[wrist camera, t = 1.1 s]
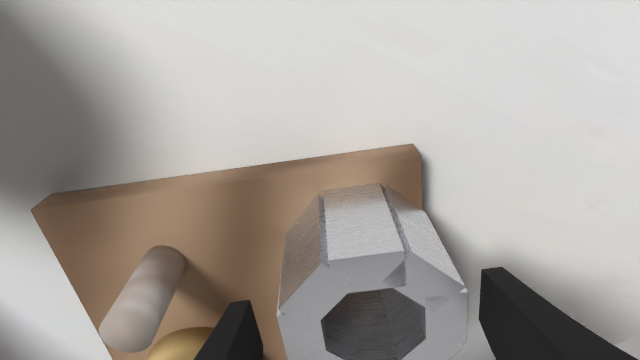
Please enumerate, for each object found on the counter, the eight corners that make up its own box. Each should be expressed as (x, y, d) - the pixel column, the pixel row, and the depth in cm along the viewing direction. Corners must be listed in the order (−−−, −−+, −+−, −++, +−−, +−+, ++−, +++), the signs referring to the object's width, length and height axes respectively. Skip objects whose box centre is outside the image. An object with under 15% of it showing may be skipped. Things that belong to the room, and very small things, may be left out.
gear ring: (427, 175, 13) (470, 241, 10) (429, 292, 16) (464, 380, 12) (276, 196, 14) (264, 268, 10) (300, 308, 16) (298, 399, 12)
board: (412, 143, 14) (456, 206, 10) (420, 362, 19) (451, 465, 15) (51, 194, 15) (-54, 274, 10) (153, 394, 20) (111, 501, 16)
